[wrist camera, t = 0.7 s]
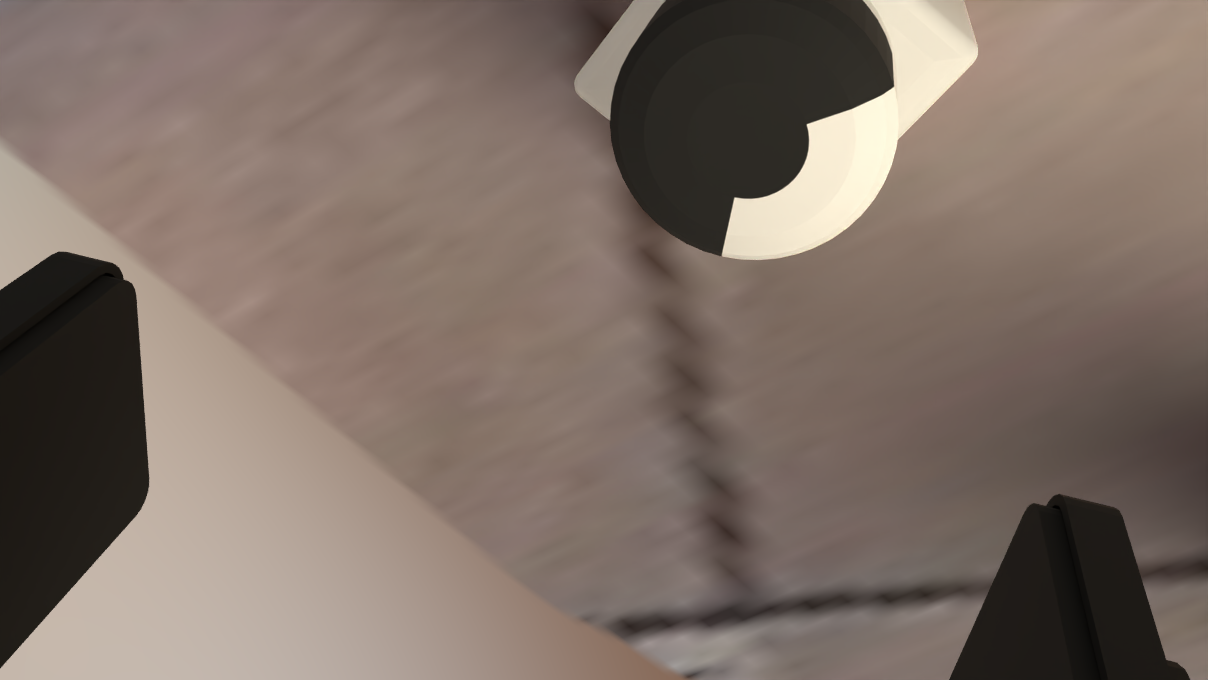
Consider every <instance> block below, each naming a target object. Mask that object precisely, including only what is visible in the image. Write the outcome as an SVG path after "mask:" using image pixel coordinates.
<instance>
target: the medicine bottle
mask: <svg viewBox="0 0 1208 680" xmlns="http://www.w3.org/2000/svg"><path fill="white" fill-rule="evenodd" d="M977 56H978V46H977V43H976V39H975V36H974V33H973V29H972V26H971V23H970V19H969V16H968V12H967V9H966V6H965V2H964V0H634V1H633V2H632V3H631V5H630V6H629V7H628V8H627V10H626V11H625V12H624V14H623V15H622V16H621V18H620V19H619V20H618V22H617V23H616V24H615V26H614V27H613V28H612V30H611V31H610V32H609V33H608V35H607V36H606V37H605V39H604V40H603V41H602V43H601V44H600V45H599V47H598V48H597V49H596V51H595V52H594V53H593V55H592V56H591V57H590V58H589V60H588V61H587V62H586V64H585V65H584V66H583V68H582V69H581V70H580V72H579V73H578V74H577V76H576V78H575V81H574V86H575V91H576V93H577V94H578V95H579V96H580V97H581V98H582V99H583V100H585V101H586V102H587V103H588V104H590V105H591V106H592V107H593V108H595V109H596V110H597V111H598V112H600V113H601V114H602V115H603V116H605V117H606V118H607V119H608V120H610V129H611V140H612V146H613V150H614V154H615V158H616V162H617V164H618V167H619V170H620V172H621V175H622V177H623V179H624V181H625V183H626V185H627V186H628V188H629V190H630V192H631V194H632V195H633V196H634V198H635V199H636V201H637V202H638V203H639V205H640V206H641V207H642V209H643V210H644V211H645V212H646V213H647V214H648V215H649V216H650V217H651V218H652V219H653V220H654V221H655V222H656V223H657V224H659V225H660V226H661V227H662V228H664V229H665V230H666V231H667V232H669V233H670V234H671V235H673V236H675V237H676V238H678V239H680V240H681V241H683V242H685V243H686V244H689V245H691V246H693V247H696V248H698V249H700V250H702V251H705V252H709V253H712V254H715V255H719V256H723V257H729V258H735V259H743V260H765V259H776V258H782V257H786V256H791V255H795V254H799V253H802V252H804V251H807V250H810V249H813V248H815V247H817V246H819V245H821V244H823V243H825V242H827V241H829V240H831V239H832V238H834V237H835V236H837V235H838V234H840V233H841V232H842V231H844V230H845V229H847V228H848V227H849V226H850V225H851V224H852V223H853V222H854V221H856V220H857V219H858V218H859V217H860V216H861V215H862V214H863V213H864V211H865V210H866V209H867V208H868V207H869V205H870V204H871V203H872V202H873V200H874V199H875V197H876V196H877V194H878V192H879V191H880V189H881V187H882V186H883V184H884V182H885V180H886V178H887V175H888V173H889V170H890V168H891V166H892V162H893V159H894V155H895V151H896V147H897V140H898V139H899V138H900V137H901V136H902V135H903V134H904V133H905V132H906V131H907V130H908V129H909V128H910V127H911V126H912V125H913V124H914V123H915V122H916V121H917V120H918V119H919V118H920V117H921V116H922V115H923V114H924V113H925V112H926V111H927V110H928V109H929V108H930V107H931V106H932V105H933V104H934V103H935V102H936V101H937V100H938V98H939V97H940V96H941V95H942V94H943V93H944V92H945V91H946V90H947V89H948V88H949V87H950V86H951V85H952V84H953V83H954V82H955V81H956V80H957V79H958V78H959V77H960V76H961V75H962V74H963V73H964V72H965V71H966V70H967V69H968V68H969V67H970V66H971V65H972V64H973V63H974V61H975V60H976V58H977Z"/></svg>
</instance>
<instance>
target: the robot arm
mask: <svg viewBox="0 0 1208 680" xmlns="http://www.w3.org/2000/svg"><path fill="white" fill-rule="evenodd" d="M142 385H143V384H142V370H141V357H140V342H139V328H138V314H137V300H136V292H135V289H134V287H133V285H132V283H130V282H129V281H126V280H124V279H123V275H122V272H121V270H120V269H119V267H117V266H116V265H115V264H113V263H110V262H106V261H102V260H98V259H93V258H89V257H85V256H81V255H77V254H72V253H69V252H57V253H55V254H52V255H51V256H49V257H48V258H46V259H45V260H43V261H42V262H40V263H39V264H38V265H36V266H35V267H33V268H32V269H30V270H29V271H28V272H26V273H24V274H23V275H22V276H20V277H19V278H17V279H16V280H14V281H13V282H11V283H10V284H8V285H7V286H5V287H4V288H3V289H1V290H0V668H1V667H2V666H3V665H4V663H5V662H6V661H7V660H8V659H9V658H10V657H11V656H12V655H13V653H14V652H15V651H16V650H17V649H18V648H19V646H21V644H22V643H23V642H24V641H25V640H26V639H27V638H28V637H29V635H30V634H31V633H32V632H33V631H34V630H35V629H36V628H37V626H38V625H39V624H40V623H41V622H42V621H43V620H44V619H45V617H46V616H47V615H48V614H49V613H50V612H51V611H52V610H53V608H54V607H55V606H56V605H57V604H58V603H59V602H60V601H61V600H62V598H63V597H64V596H65V595H66V594H67V593H68V592H69V591H70V589H71V588H72V587H73V586H74V585H75V584H76V583H77V582H78V580H79V579H80V578H81V577H82V576H83V575H84V573H86V571H87V570H88V569H89V568H90V567H91V566H92V564H94V562H95V561H96V560H97V559H98V558H99V557H100V556H101V554H102V553H103V552H104V551H105V550H106V549H107V548H108V547H109V546H110V544H111V543H112V542H113V541H114V540H115V539H116V538H117V537H118V536H119V534H120V533H121V532H122V531H123V530H124V529H125V528H126V527H127V525H128V524H129V523H130V522H131V521H132V520H133V519H134V518H135V516H136V515H137V514H138V512H139V511H140V510H141V508H142V506H143V504H144V502H145V499H146V496H147V493H148V488H149V470H148V456H147V442H146V427H145V413H144V399H143V386H142ZM949 680H1190V678H1189V676H1188V674H1187V672H1186V670H1185V669H1184V668H1183V667H1181V666H1180V665H1179V664H1178V663H1176V662H1172V661H1168V660H1166V658H1165V654H1164V651H1163V648H1162V645H1161V641H1160V638H1159V635H1158V632H1157V628H1156V625H1155V622H1154V618H1153V615H1152V612H1151V609H1150V605H1149V602H1148V599H1147V596H1146V592H1145V589H1144V586H1143V582H1142V579H1141V576H1140V573H1139V569H1138V566H1137V563H1136V560H1135V556H1134V553H1133V550H1132V546H1131V543H1130V540H1129V537H1128V533H1127V530H1126V527H1125V524H1124V520H1123V517H1122V515H1121V513H1120V511H1119V510H1118V509H1116V508H1114V507H1110V506H1106V505H1102V504H1098V503H1093V502H1089V501H1085V500H1081V499H1077V498H1073V497H1069V496H1065V495H1061V494H1058V495H1055V496H1053V497H1052V499H1051V500H1050V501H1049V502H1048V504H1047V506H1043V505H1039V504H1035V503H1033V504H1030V506H1029V507H1028V508H1027V509H1026V511H1025V513H1024V515H1023V517H1022V519H1021V521H1020V524H1019V526H1018V528H1017V530H1016V532H1015V535H1014V537H1013V539H1012V541H1011V543H1010V546H1009V548H1008V550H1007V552H1006V555H1005V557H1004V559H1003V561H1002V563H1001V566H1000V568H999V570H998V572H997V575H996V577H995V579H994V581H993V583H992V586H991V588H990V590H989V592H988V595H987V597H986V599H985V601H984V603H983V606H982V608H981V610H980V612H979V615H978V617H977V619H976V621H975V623H974V626H973V628H972V630H971V632H970V635H969V637H968V639H967V641H966V643H965V646H964V648H963V650H962V652H961V655H960V657H959V659H958V661H957V663H956V666H955V668H954V670H953V672H952V675H951V677H950V679H949Z"/></svg>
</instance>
